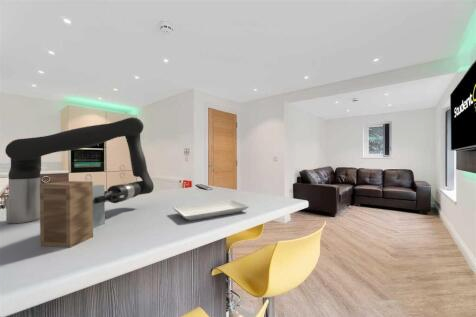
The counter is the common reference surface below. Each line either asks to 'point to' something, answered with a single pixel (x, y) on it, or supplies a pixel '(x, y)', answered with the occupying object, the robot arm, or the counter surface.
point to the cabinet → (66, 213)
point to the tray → (210, 209)
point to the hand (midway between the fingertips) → (89, 200)
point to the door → (98, 206)
